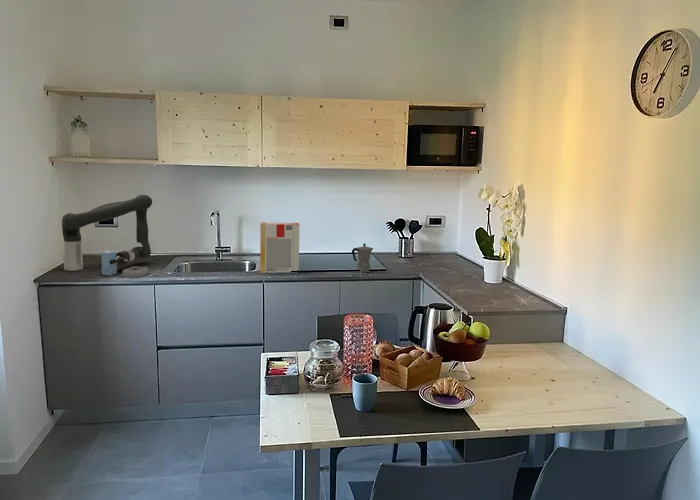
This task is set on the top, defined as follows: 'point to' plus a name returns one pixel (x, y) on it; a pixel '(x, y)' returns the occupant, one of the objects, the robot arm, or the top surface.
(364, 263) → the coffeepot
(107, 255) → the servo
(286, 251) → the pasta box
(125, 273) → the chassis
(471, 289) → the top surface
